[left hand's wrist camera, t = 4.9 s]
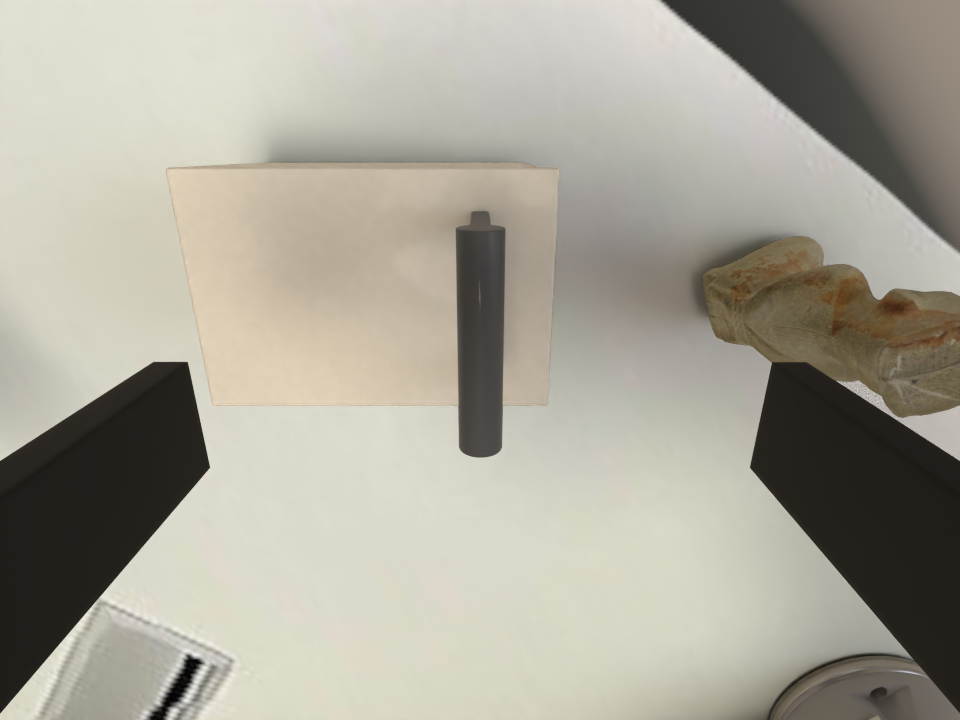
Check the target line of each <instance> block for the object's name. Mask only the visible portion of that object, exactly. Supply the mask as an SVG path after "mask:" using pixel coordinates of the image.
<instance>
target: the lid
mask: <svg viewBox="0 0 960 720" xmlns="http://www.w3.org/2000/svg"><path fill="white" fill-rule="evenodd" d="M559 172H560V170H559V168H555V167H175V168H167V169H166V173H167V178H168V183H169V189H170V194H171V199H172V204H173V209H174V214H175V219H176V224H177V229H178V234H179V239H180V244H181V249H182V254H183V259H184V264H185V269H186V274H187V279H188V284H189V289H190V294H191V299H192V304H193V309H194V314H195V319H196V324H197V329H198V334H199V339H200V344H201V349H202V354H203V359H204V364H205V369H206V374H207V379H208V384H209V389H210V394H211V399H212V404H213V405H214V406H458V410H459V448H460V450H461V451H462V452H463V453H464V454H466V455H469V456H472V457H489V456H493V455H495V454H497V453H498V452H499V451H500V450H501V448H502V416H503V406H542V405H547V404H548V389H549V370H550V350H551V330H552V310H553V291H554V271H555V251H556V231H557V212H558V192H559Z"/></svg>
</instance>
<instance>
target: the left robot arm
mask: <svg viewBox="0 0 960 720" xmlns="http://www.w3.org/2000/svg"><path fill="white" fill-rule="evenodd" d="M209 468H210V465H209V461H208V456H207V451H206V446H205V442H204V437H203V432H202V427H201V423H200V418H199V413H198V409H197V404H196V399H195V394H194V390H193V385H192V380H191V375H190V371H189V366H188V362H153V363H151V364H150V365H148V366H147V367H145V368H144V369H142V370H140V371H139V372H137V373H136V374H134V375H133V376H131V377H130V378H128V379H127V380H125V381H123V382H122V383H120V384H119V385H117V386H116V387H114V388H113V389H111V390H110V391H108V392H106V393H105V394H103V395H102V396H100V397H99V398H97V399H96V400H94V401H92V402H91V403H89V404H88V405H86V406H85V407H83V408H82V409H80V410H79V411H77V412H75V413H74V414H72V415H71V416H69V417H68V418H66V419H65V420H63V421H62V422H60V423H58V424H57V425H55V426H54V427H52V428H51V429H49V430H48V431H46V432H44V433H43V434H41V435H40V436H38V437H37V438H35V439H34V440H32V441H31V442H29V443H27V444H26V445H24V446H23V447H21V448H20V449H18V450H17V451H15V452H13V453H12V454H10V455H9V456H7V457H6V458H4V459H3V460H1V461H0V713H1V712H2V711H3V710H4V708H5V707H6V706H7V705H8V704H9V703H10V701H11V700H12V699H13V698H14V697H15V696H16V694H17V693H18V692H19V691H20V690H21V689H22V687H23V686H24V685H25V684H26V683H27V681H28V680H29V679H30V678H31V677H32V676H33V674H34V673H35V672H36V671H37V670H38V669H39V667H40V666H41V665H42V664H43V663H44V662H45V660H46V659H47V658H48V657H49V656H50V655H51V653H52V652H53V651H54V650H55V649H56V647H57V646H58V645H59V644H60V643H61V642H62V640H63V639H64V638H65V637H66V636H67V635H68V633H69V632H70V631H71V630H72V629H73V628H74V626H75V625H76V624H77V623H78V622H79V621H80V619H81V618H82V617H83V616H84V615H85V614H86V612H87V611H88V610H89V609H90V608H91V606H92V605H93V604H94V603H95V602H96V601H97V599H98V598H99V597H100V596H101V595H102V594H103V592H104V591H105V590H106V589H107V588H108V587H109V585H110V584H111V583H112V582H113V581H114V580H115V578H116V577H117V576H118V575H119V574H120V573H121V571H122V570H123V569H124V568H125V567H126V565H127V564H128V563H129V562H130V561H131V560H132V558H133V557H134V556H135V555H136V554H137V553H138V551H139V550H140V549H141V548H142V547H143V546H144V544H145V543H146V542H147V541H148V540H149V539H150V537H151V536H152V535H153V534H154V533H155V531H156V530H157V529H158V528H159V527H160V526H161V524H162V523H163V522H164V521H165V520H166V519H167V517H168V516H169V515H170V514H171V513H172V512H173V510H174V509H175V508H176V507H177V506H178V505H179V503H180V502H181V501H182V500H183V499H184V498H185V496H186V495H187V494H188V493H189V492H190V490H191V489H192V488H193V487H194V486H195V485H196V483H197V482H198V481H199V480H200V479H201V478H202V476H203V475H204V474H205V473H206V472H207V471H208V469H209ZM750 468H751V469H752V471H753V472H754V473H755V474H756V475H757V476H758V478H759V479H760V480H761V481H762V482H763V483H764V485H765V486H766V487H767V488H768V489H769V490H770V492H771V493H772V494H773V495H774V496H775V498H776V499H777V500H778V501H779V502H780V503H781V505H782V506H783V507H784V508H785V509H786V510H787V512H788V513H789V514H790V515H791V516H792V517H793V519H794V520H795V521H796V522H797V523H798V524H799V526H800V527H801V528H802V529H803V530H804V532H805V533H806V534H807V535H808V536H809V537H810V539H811V540H812V541H813V542H814V543H815V544H816V546H817V547H818V548H819V549H820V550H821V551H822V553H823V554H824V555H825V556H826V557H827V558H828V560H829V561H830V562H831V563H832V564H833V565H834V567H835V568H836V569H837V570H838V571H839V573H840V574H841V575H842V576H843V577H844V578H845V580H846V581H847V582H848V583H849V584H850V585H851V587H852V588H853V589H854V590H855V591H856V592H857V594H858V595H859V596H860V597H861V598H862V599H863V601H864V602H865V603H866V604H867V605H868V606H869V608H870V609H871V610H872V611H873V612H874V614H875V615H876V616H877V617H878V618H879V619H880V621H881V622H882V623H883V624H884V625H885V626H886V628H887V629H888V630H889V631H890V632H891V633H892V635H893V636H894V637H895V638H896V639H897V640H898V642H899V643H900V644H901V645H902V646H903V647H904V649H905V650H906V651H907V652H908V653H909V655H910V656H911V657H912V658H913V659H914V660H915V662H914V661H911V660H908V659H904V658H899V657H893V656H864V657H857V658H851V659H847V660H843V661H839V662H836V663H833V664H830V665H827V666H825V667H823V668H820V669H818V670H816V671H814V672H812V673H811V674H809V675H807V676H805V677H804V678H802V679H801V680H799V681H798V682H797V683H795V684H794V685H793V686H792V687H791V688H790V689H788V690H787V691H786V692H785V693H784V695H783V696H782V697H781V698H780V699H779V701H778V702H777V703H776V705H775V707H774V708H773V711H772V713H771V715H770V718H769V720H960V461H959V460H957V459H956V458H954V457H953V456H951V455H950V454H948V453H946V452H945V451H943V450H942V449H940V448H939V447H937V446H936V445H934V444H933V443H931V442H929V441H928V440H926V439H925V438H923V437H922V436H920V435H919V434H917V433H916V432H914V431H912V430H911V429H909V428H908V427H906V426H905V425H903V424H902V423H900V422H898V421H897V420H895V419H894V418H892V417H891V416H889V415H888V414H886V413H885V412H883V411H881V410H880V409H878V408H877V407H875V406H874V405H872V404H871V403H869V402H868V401H866V400H864V399H863V398H861V397H860V396H858V395H857V394H855V393H854V392H852V391H850V390H849V389H847V388H846V387H844V386H843V385H841V384H840V383H838V382H837V381H835V380H833V379H832V378H830V377H829V376H827V375H826V374H824V373H823V372H821V371H820V370H818V369H816V368H815V367H813V366H812V365H810V364H809V363H807V362H772V366H771V371H770V375H769V380H768V385H767V390H766V394H765V399H764V404H763V409H762V413H761V418H760V423H759V427H758V432H757V437H756V442H755V446H754V451H753V456H752V461H751V465H750Z"/></svg>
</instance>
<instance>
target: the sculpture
mask: <svg viewBox="0 0 960 720" xmlns="http://www.w3.org/2000/svg"><path fill="white" fill-rule="evenodd" d="M823 258H824V256H823V250H822V248H821V246H820V245H819V244H818V243H817V242H816V241H814V240H813V239H811V238H809V237H802V236H798V237H789V238H785V239H781V240H778V241H775V242H773V243H770V244H768V245H766V246H764V247H762V248H760V249H758V250H756V251H754V252H752V253H750V254H748V255H746V256H744V257H742V258H741V259H739V260H737V261H735V262H733V263H730V264H728V265H725V266H722V267H715V268H712V269H710V270H708V271H707V272H705V273H704V275H703V288H704V293H705V297H706V303H707V309H708V314H709V319H710V323H711V326H712V329H713V331H714V333H715V335H716V337H717V338H719V339H722V340H724V341H725V342H728V343H733V344H740V345H750V346H752V347H754V348H755V349H756V350H757V351H758V352H759V353H761V354H762V355H763V356H764V357H766V358H767V359H768V360H769V361H770V362H807V363H809V364H810V365H812V366H813V367H815V368H816V369H818V370H820V371H821V372H823V373H824V374H826V375H827V376H829V377H830V378H832V379H833V380H835V381H845V382H852V381H857V380H860V381H861V382H862V383H863V384H865V385H866V386H867V387H868V388H869V389H871V390H872V391H874V392H875V393H877V394H879V395H880V396H882V398H883V400H884V402H885V404H886V405H887V407H888V408H889V409H890V410H891V411H892V412H893V413H894V414H895V415H896V416H898V417H901V418H904V417H907V416H914V415H927V414H932V413H936V412H941V411H945V410H949V409H951V408H954V407H956V406H959V405H960V296H958V295H956V294H954V293H952V292H945V291H932V292H920V291H913V290H905V289H893V290H891V291H890V292H889V293H887V294H886V295H885V296H884V298H883V299H881V300H877V299H875V297H874V296H873V295H872V293H871V291H870V288H869V285H868V282H867V280H866V278H865V277H864V275H863V273H862V272H860V271H859V270H858V269H857V268H855V267H853V266H850V265H846V264H835V265H828V266H823Z"/></svg>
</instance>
